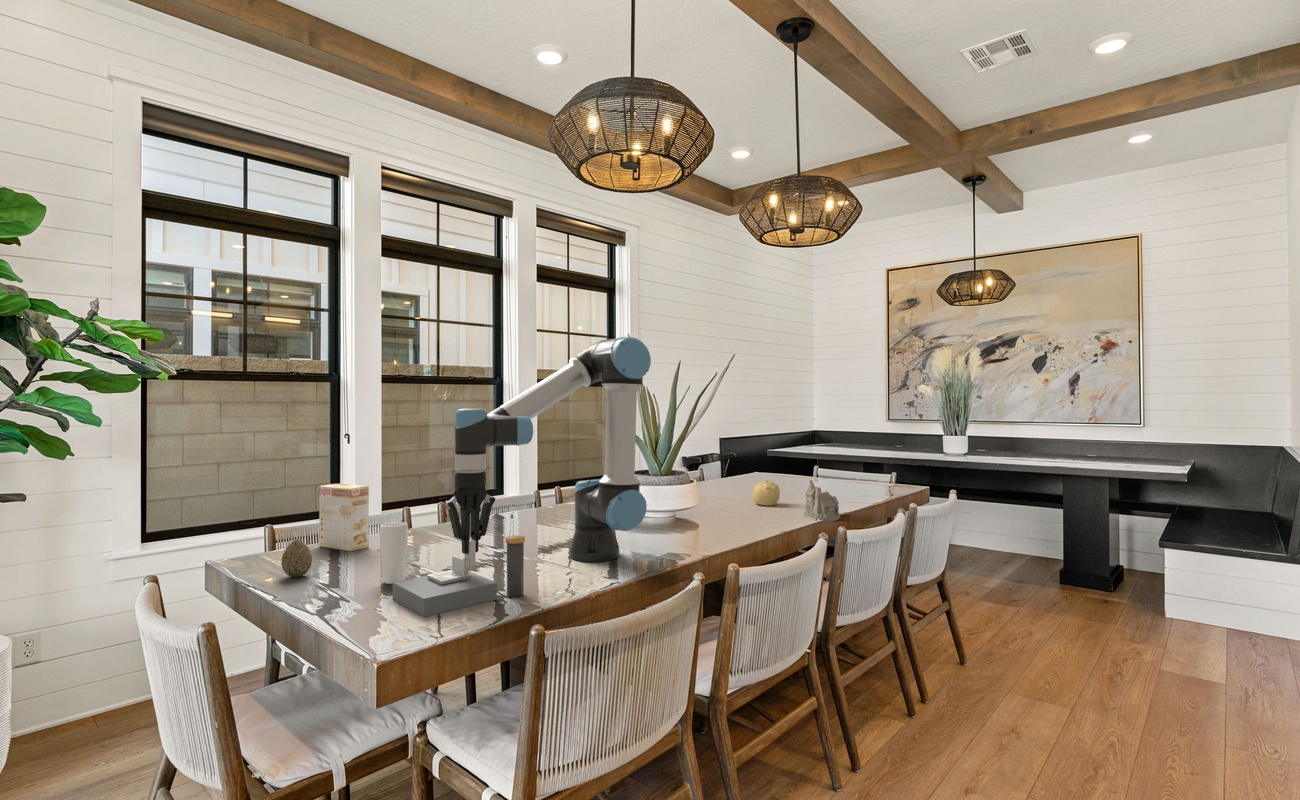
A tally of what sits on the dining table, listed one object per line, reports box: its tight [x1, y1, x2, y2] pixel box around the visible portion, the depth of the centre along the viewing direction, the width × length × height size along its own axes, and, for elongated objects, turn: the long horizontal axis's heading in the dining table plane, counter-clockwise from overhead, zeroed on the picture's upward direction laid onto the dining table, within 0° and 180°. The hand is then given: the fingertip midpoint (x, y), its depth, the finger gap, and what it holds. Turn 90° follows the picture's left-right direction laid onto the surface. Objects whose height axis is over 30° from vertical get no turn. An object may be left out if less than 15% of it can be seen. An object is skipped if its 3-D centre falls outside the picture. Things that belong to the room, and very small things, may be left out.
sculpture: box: [751, 480, 781, 507], centre depth 290 cm, size 12×12×11 cm
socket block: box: [392, 570, 498, 618], centre depth 157 cm, size 18×17×4 cm
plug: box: [505, 534, 526, 599], centre depth 160 cm, size 5×5×14 cm
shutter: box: [426, 555, 471, 585], centre depth 159 cm, size 8×8×4 cm
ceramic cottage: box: [803, 479, 842, 522], centre depth 262 cm, size 16×16×15 cm
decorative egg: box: [281, 538, 313, 578], centre depth 175 cm, size 7×7×10 cm
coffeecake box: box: [318, 483, 370, 552], centre depth 209 cm, size 15×7×20 cm, turn 63°
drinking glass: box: [379, 521, 409, 585], centre depth 171 cm, size 7×7×15 cm
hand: (470, 566), depth 163 cm, fingers closed
